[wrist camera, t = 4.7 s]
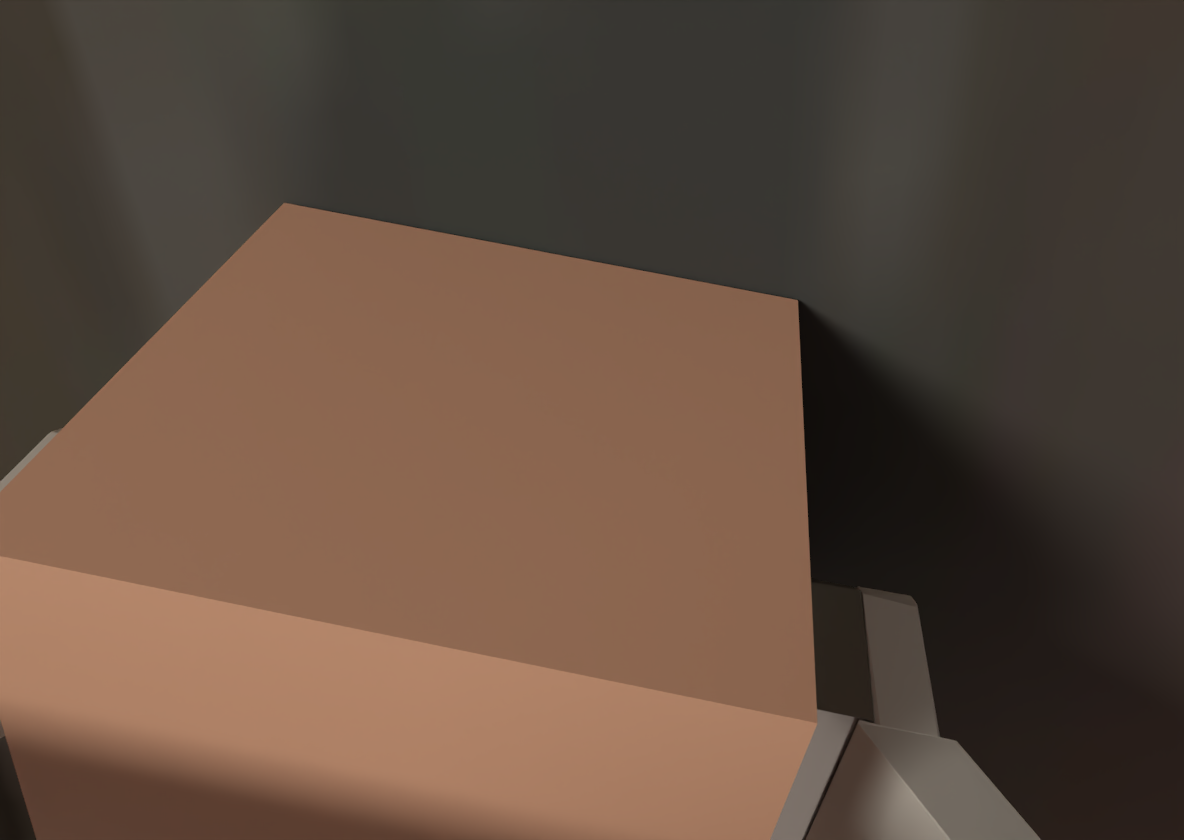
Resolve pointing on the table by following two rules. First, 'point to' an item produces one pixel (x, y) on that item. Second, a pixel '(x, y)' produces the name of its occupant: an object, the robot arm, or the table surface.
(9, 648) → the cube
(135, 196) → the table surface
